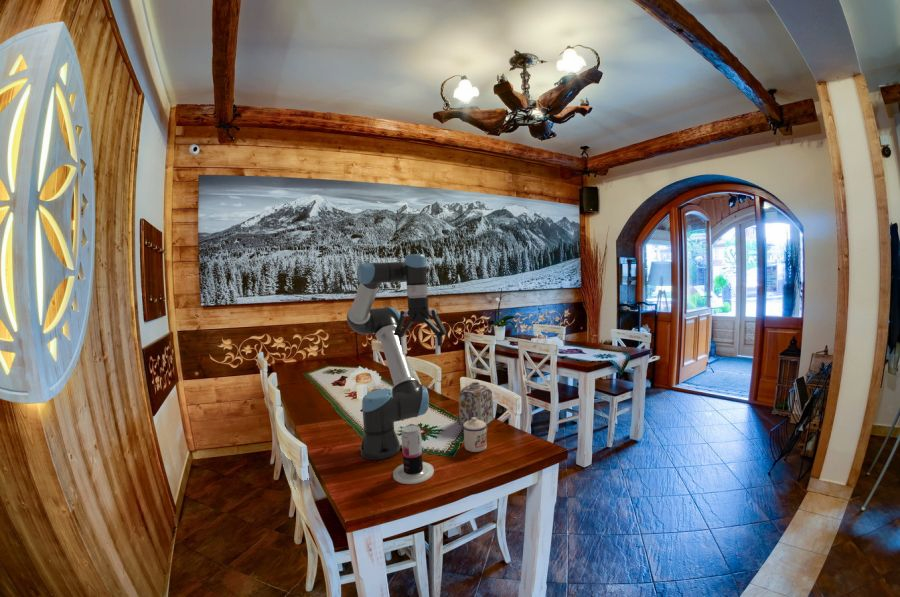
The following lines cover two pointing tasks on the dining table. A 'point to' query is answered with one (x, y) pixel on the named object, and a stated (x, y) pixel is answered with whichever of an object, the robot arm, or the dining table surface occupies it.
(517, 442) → the dining table surface
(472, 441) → the teacup with lid
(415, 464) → the beverage can
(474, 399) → the decorative jar
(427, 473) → the plate
